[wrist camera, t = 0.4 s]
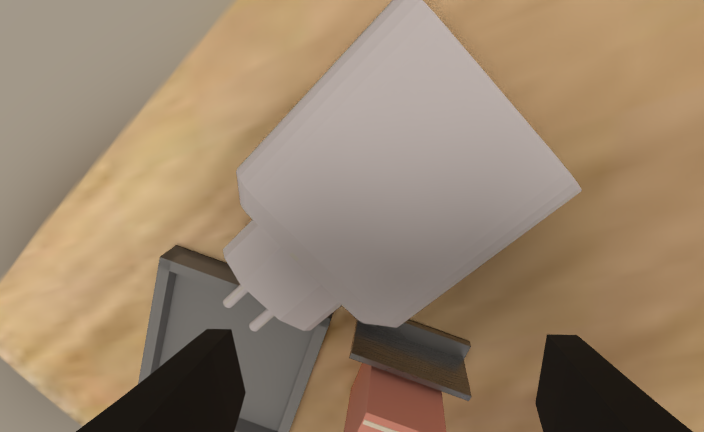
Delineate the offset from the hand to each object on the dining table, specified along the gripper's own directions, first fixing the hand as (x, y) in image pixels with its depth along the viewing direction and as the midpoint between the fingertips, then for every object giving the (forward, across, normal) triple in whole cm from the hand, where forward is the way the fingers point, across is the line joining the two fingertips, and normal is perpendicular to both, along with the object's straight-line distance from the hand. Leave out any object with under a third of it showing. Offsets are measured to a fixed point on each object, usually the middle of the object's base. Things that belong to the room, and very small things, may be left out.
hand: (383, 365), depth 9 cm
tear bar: (+10, -1, +8) cm, 13 cm away
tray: (+10, +9, +9) cm, 16 cm away
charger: (+11, +2, 0) cm, 11 cm away
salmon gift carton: (+10, 0, +10) cm, 14 cm away
